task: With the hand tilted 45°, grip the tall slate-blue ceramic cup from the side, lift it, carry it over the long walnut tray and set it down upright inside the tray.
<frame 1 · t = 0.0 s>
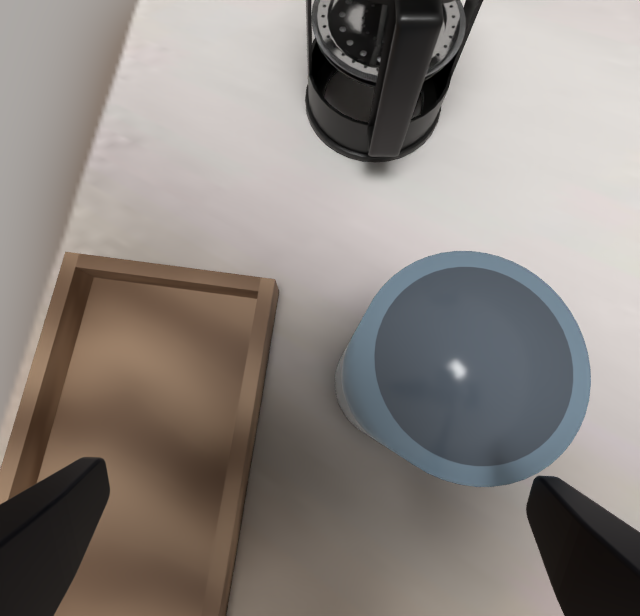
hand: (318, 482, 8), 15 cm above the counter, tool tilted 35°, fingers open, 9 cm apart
french press: (372, 111, 28), on the counter
tray: (146, 446, 23), on the counter
cup: (388, 383, 24), on the counter
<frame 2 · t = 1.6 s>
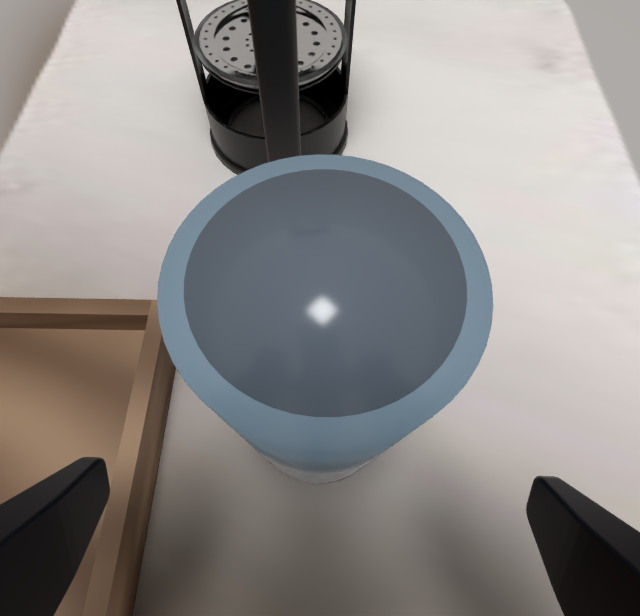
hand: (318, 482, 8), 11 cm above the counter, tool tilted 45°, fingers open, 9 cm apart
french press: (280, 140, 28), on the counter
tray: (3, 534, 17), on the counter
cup: (318, 411, 19), on the counter
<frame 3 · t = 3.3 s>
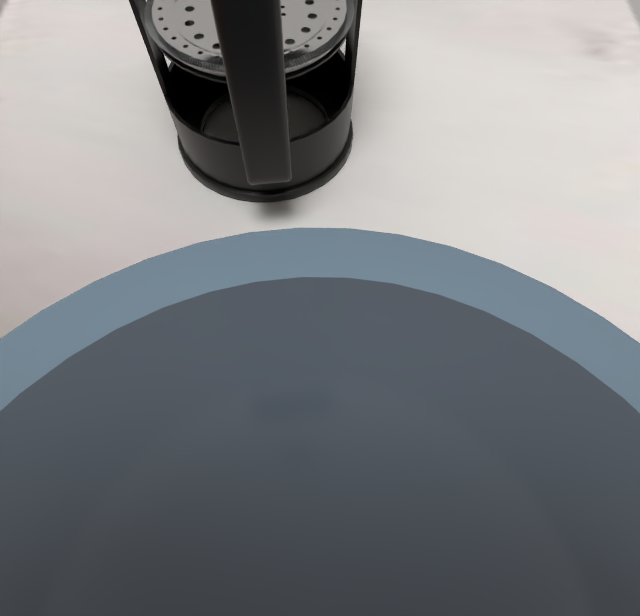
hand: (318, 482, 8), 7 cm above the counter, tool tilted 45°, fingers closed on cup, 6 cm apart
french press: (267, 145, 22), on the counter
cup: (314, 534, 14), on the counter, touching gripper
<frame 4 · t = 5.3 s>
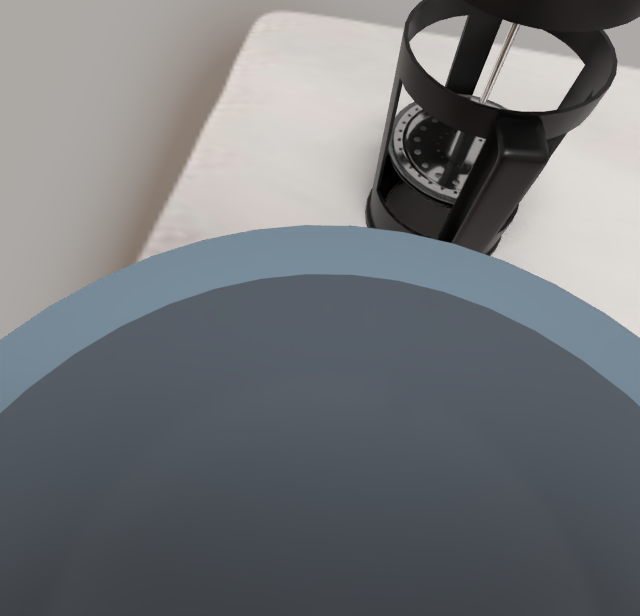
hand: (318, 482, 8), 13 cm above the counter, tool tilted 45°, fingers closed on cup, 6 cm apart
french press: (431, 225, 28), on the counter
cup: (315, 533, 14), point 7 cm above the counter, touching gripper
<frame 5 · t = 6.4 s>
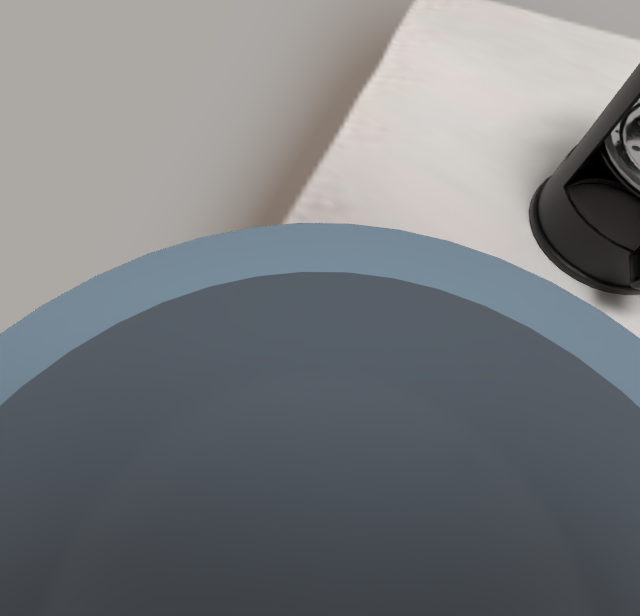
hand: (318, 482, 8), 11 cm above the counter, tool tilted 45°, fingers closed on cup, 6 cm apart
french press: (603, 236, 25), on the counter
cup: (314, 532, 14), point 5 cm above the counter, touching gripper
when the fingers open (8 cm above the counter, at t = 7.5 s): cup drops 1 cm, resting on tray.
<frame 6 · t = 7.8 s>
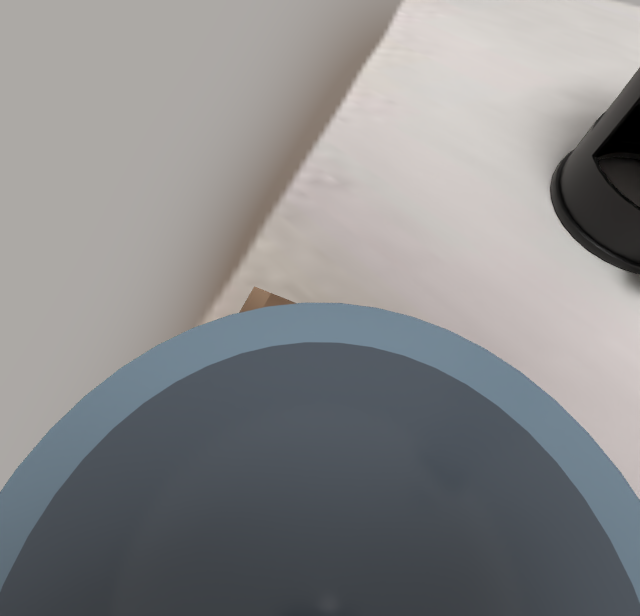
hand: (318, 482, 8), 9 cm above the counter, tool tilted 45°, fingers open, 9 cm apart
french press: (632, 215, 23), on the counter
tray: (283, 599, 15), on the counter
cup: (314, 534, 15), point 1 cm above the counter, touching tray
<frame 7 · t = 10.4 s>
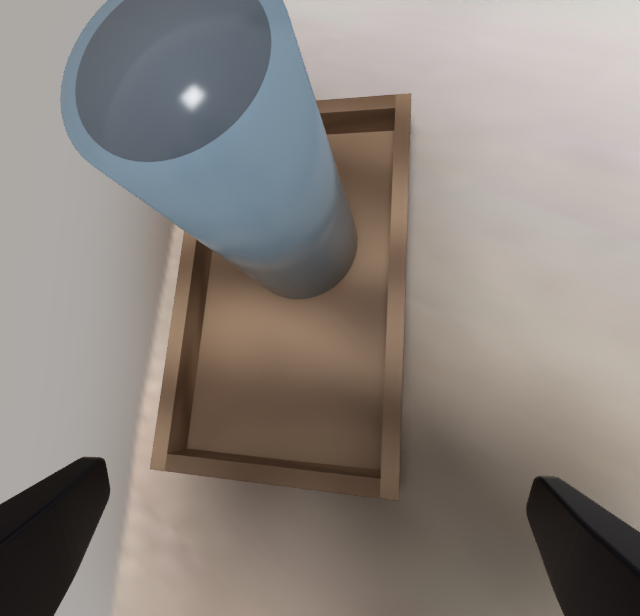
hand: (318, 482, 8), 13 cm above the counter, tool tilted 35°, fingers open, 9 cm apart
tray: (297, 287, 23), on the counter
cup: (301, 243, 23), point 1 cm above the counter, touching tray
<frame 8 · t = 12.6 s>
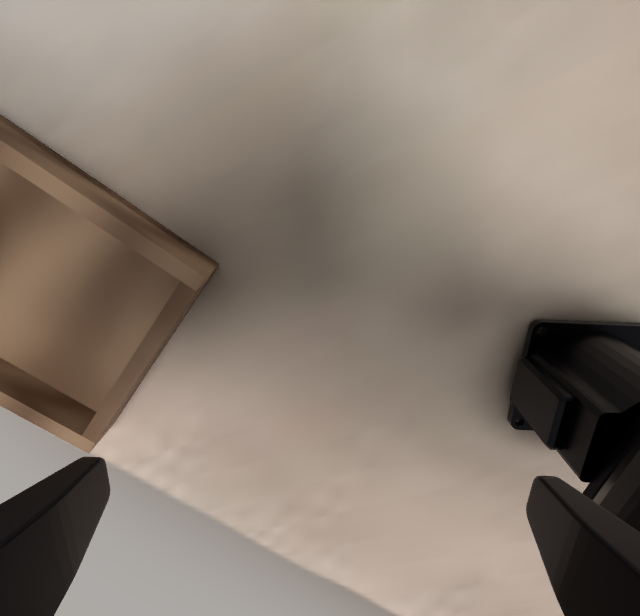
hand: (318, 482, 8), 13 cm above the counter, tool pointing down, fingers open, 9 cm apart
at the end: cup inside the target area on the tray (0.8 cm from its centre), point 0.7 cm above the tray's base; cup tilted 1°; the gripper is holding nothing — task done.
